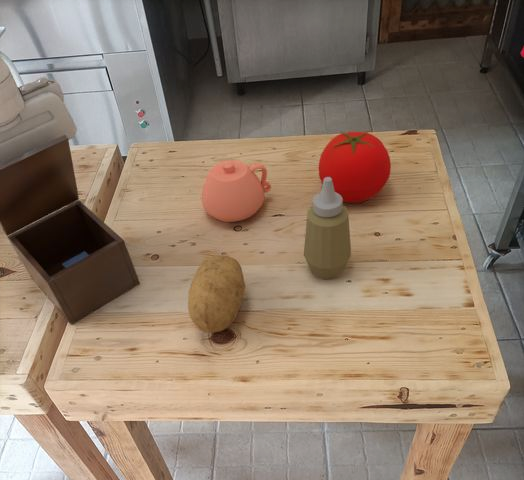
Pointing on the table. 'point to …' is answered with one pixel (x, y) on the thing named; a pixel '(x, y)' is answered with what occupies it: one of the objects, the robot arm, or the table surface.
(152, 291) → the table surface
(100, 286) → the chest
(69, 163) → the lid
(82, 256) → the block
